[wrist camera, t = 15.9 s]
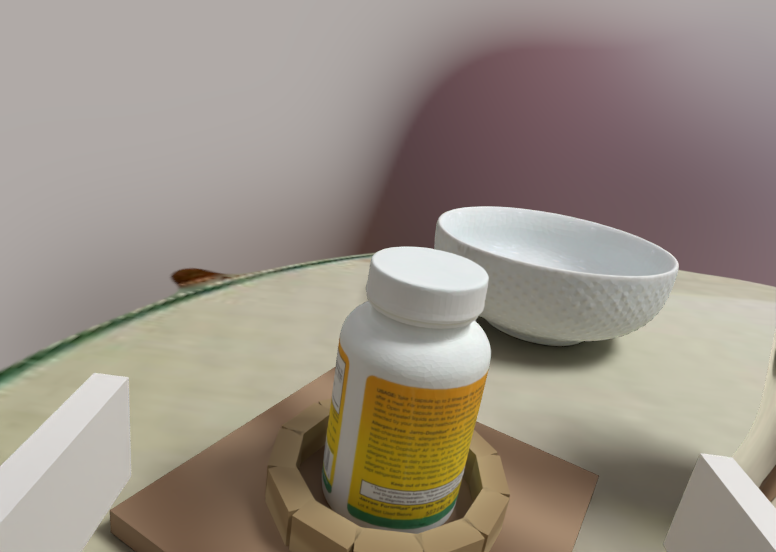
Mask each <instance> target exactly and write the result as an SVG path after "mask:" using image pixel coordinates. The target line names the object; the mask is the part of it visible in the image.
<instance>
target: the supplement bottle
mask: <svg viewBox="0 0 776 552" xmlns="http://www.w3.org/2000/svg"><path fill="white" fill-rule="evenodd" d="M488 281H489V277H488V274H487V272H486V271H485V270H484V269H483V268H482V267H481V266H479V265H478V264H476V263H475V262H473V261H471V260H469V259H467V258H464V257H462V256H459V255H456V254H452V253H449V252H445V251H441V250H435V249H430V248H422V247H394V248H387V249H383V250H381V251H379V252H377V253H375V254H374V255H373V257H372V259H371V263H370V269H369V275H368V281H367V285H366V292H367V299H368V301H367V302H365V303H363V304H361V305H359V306H358V307H356V308H355V309H354V310H353V311H352V312H351V313H350V314H349V315H348V317H347V318H346V319H345V321H344V323H343V326H342V329H341V333H340V338H339V345H338V352H337V360H336V368H335V376H334V383H333V391H332V398H331V405H330V412H329V420H328V428H327V435H326V442H325V451H324V460H323V469H322V489H323V493H324V496H325V498H326V500H327V502H328V504H329V505H330V507H331V508H332V510H333V511H334V512H336V513H337V514H339V515H341V516H342V517H344V518H346V519H348V520H349V521H351V522H353V523H354V524H356V525H358V526H359V527H363V528H371V529H380V530H388V531H397V532H405V533H413V534H419V533H422V532H425V531H428V530H430V529H433V528H436V527H439V526H441V525H443V524H444V523H445V522H446V521H447V520H448V518H449V517H450V515H451V514H452V512H453V509H454V507H455V504H456V500H457V497H458V493H459V489H460V485H461V481H462V476H463V473H464V469H465V464H466V460H467V456H468V452H469V448H470V443H471V439H472V435H473V431H474V427H475V423H476V419H477V415H478V411H479V407H480V403H481V399H482V394H483V390H484V386H485V382H486V378H487V374H488V370H489V366H490V359H491V348H490V344H489V340H488V338H487V336H486V334H485V332H484V331H483V329H482V328H481V327H480V326H479V324H478V323H477V322H476V321H475V320H476V319H477V317H478V316H479V314H481V313H482V311H483V309H484V305H485V298H486V293H487V288H488Z"/></svg>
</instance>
